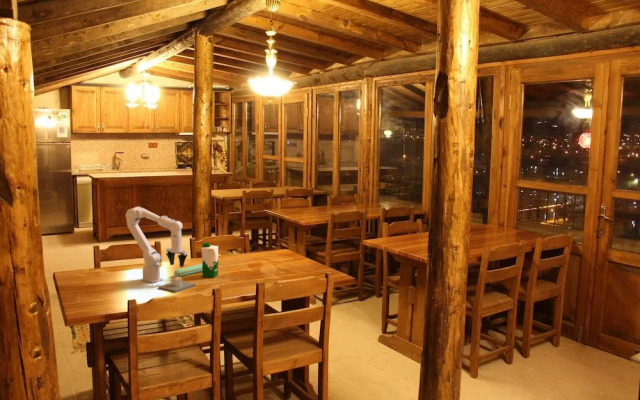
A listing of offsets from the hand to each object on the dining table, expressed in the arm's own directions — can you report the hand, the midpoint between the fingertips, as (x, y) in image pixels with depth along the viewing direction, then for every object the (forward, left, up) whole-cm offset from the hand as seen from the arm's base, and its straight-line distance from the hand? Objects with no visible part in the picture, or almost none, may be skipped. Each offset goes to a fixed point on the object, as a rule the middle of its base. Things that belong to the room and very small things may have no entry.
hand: (177, 265), depth 319 cm
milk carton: (+8, +19, -10) cm, 23 cm away
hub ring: (+8, -8, -8) cm, 14 cm away
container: (-5, +18, -10) cm, 21 cm away
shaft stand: (+8, -8, -9) cm, 15 cm away
